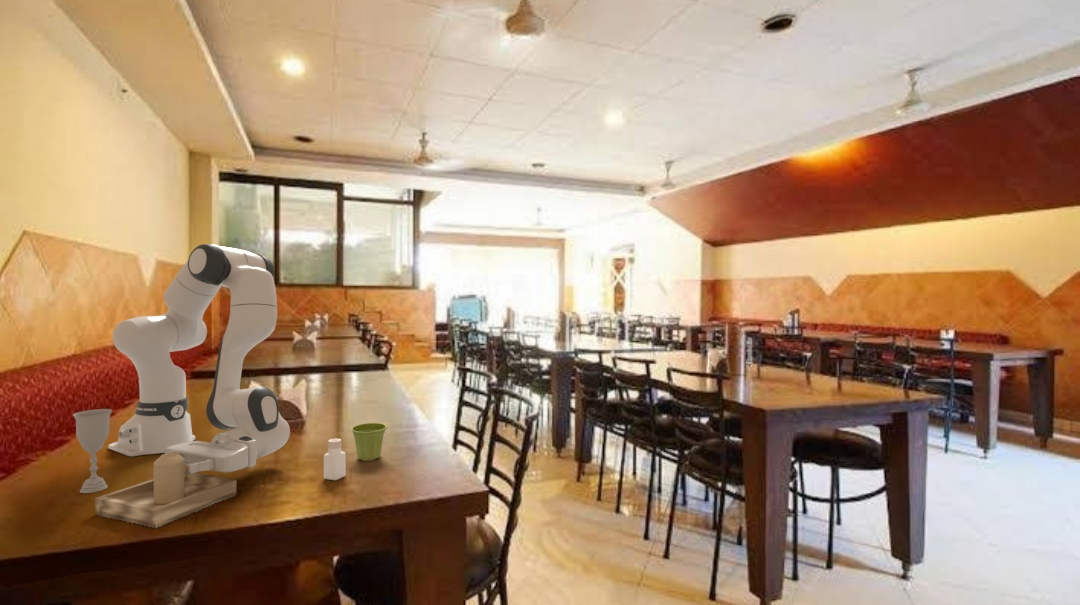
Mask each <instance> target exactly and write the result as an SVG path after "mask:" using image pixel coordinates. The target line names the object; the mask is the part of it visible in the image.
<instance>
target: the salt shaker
mask: <svg viewBox="0 0 1080 605" xmlns="http://www.w3.org/2000/svg"><path fill="white" fill-rule="evenodd" d="M342 441H343V440H342V439H341V438H330V439H328V441H327V449H328V451H327V452H326V453H325V454H324V455H323V478H324V480H330V481H331V480H332V481H338V480H340V479H342V478H344V477H345V476H346V474H347V472H346V471H347V464H346V463H347V461H346V460H347V459H346V458H347V456H346V455H347V453H346V452H345V451H342V447H343V446H342V443H343V442H342Z"/></svg>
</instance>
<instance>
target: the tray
mask: <svg viewBox="0 0 1080 605" xmlns="http://www.w3.org/2000/svg"><path fill="white" fill-rule="evenodd" d="M236 496H237V479H232V478H225V477H221V476H216V475H209V474H204V473H199V472H196V473H188V472H186V470H185V496H184V498H182V499H180V500H177V501H174V502H172V503H169V504H162V505H159V504H155V503H154V478H152V479H150V480H146V481H143V482H140V483H137V484H134V485H131V486H128V487H125V488H122V489H119V490H115V491H112V492H110V493H106V494H103V495H100V496H97V497H95V498H94V500H95V501H94V502H95V504H94V505H95V506H94V511H95V512H94V514H95V516H99V517H103V518H107V519H111V518H112V520H116V519H117V520H116V521H120V520H122V521H121V522H124V521H126V522H125V523H129V522H131V523H130V524H133V523H136V524H135V525H137V524H140V525H139V526H141V525H144V526H143V527H146V526H148V527H147V528H150V527H152V528H151V529H154V528H155V530H156V528H157V529H159V528H161V527H164V526H166V525H168V524H167V523H169V522H171V523H173V522H175V521H174V520H176V521H178V520H180V519H179V518H181V519H183V518H185V517H188V516H190V515H192V514H191V513H193V512H195V513H197V512H200V511H202V510H204V509H203V508H205V509H207V508H209V507H212V506H214V505H216V504H215V503H217V504H218V502H219V503H221V502H224V501H226V500H228V498H229V499H231V498H233V497H236ZM223 500H224V501H223ZM220 501H221V502H220ZM213 504H214V505H213ZM211 505H212V506H211ZM208 506H209V507H208ZM206 507H207V508H206ZM201 509H202V510H201ZM199 510H200V511H199ZM189 514H190V515H189ZM193 514H194V513H193ZM187 515H188V516H187ZM184 516H185V517H184ZM182 517H183V518H182ZM177 519H178V520H177ZM172 521H173V522H172ZM165 524H166V525H165ZM169 524H170V523H169ZM163 525H164V526H163ZM158 527H159V528H158Z"/></svg>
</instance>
